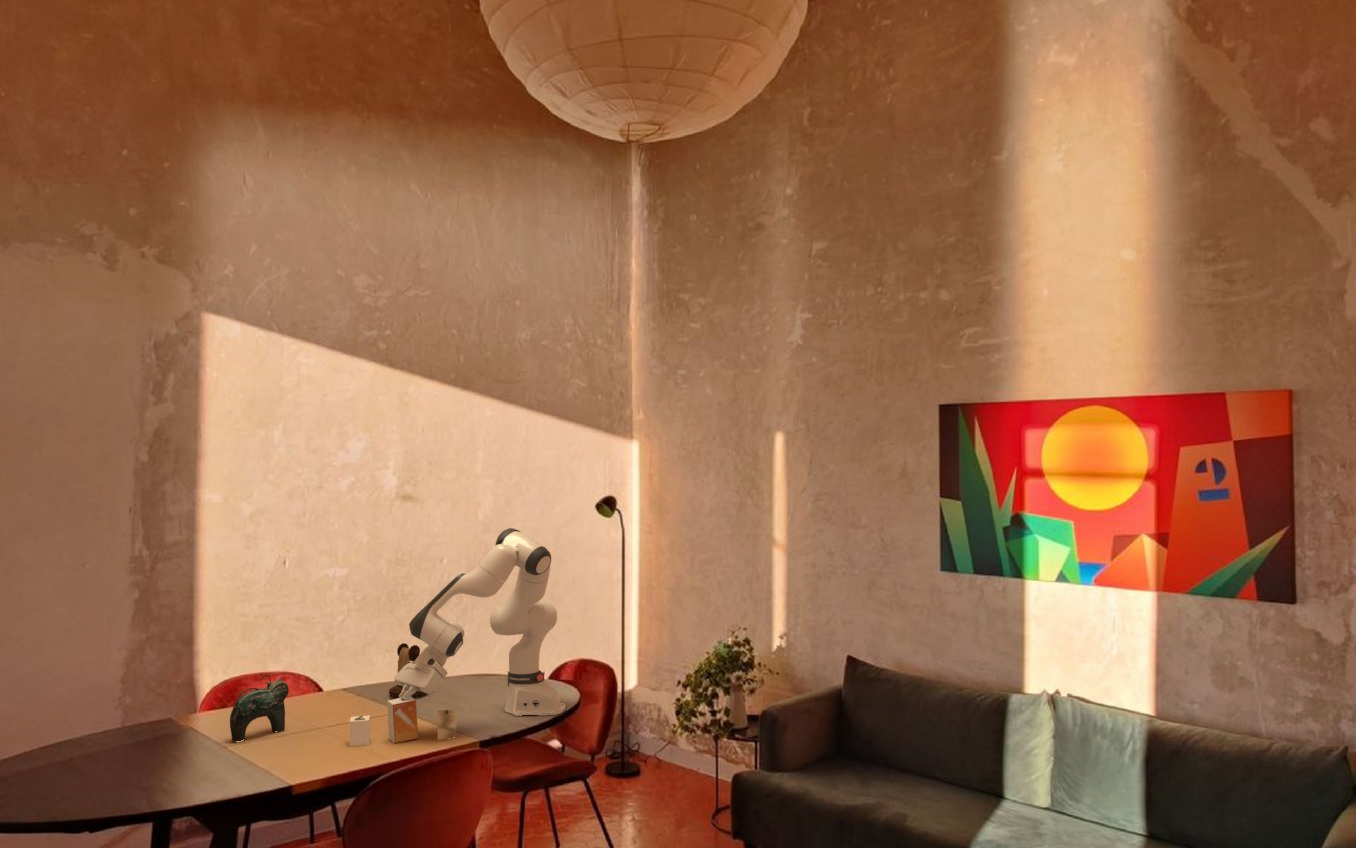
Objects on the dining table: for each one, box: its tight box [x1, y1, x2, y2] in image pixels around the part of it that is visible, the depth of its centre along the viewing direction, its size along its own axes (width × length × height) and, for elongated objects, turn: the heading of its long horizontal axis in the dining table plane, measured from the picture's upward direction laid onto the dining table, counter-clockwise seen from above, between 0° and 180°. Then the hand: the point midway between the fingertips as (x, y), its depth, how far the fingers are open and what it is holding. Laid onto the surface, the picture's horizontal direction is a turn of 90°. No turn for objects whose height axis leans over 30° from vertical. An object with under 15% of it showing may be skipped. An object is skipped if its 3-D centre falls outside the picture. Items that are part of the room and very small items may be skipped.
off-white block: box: [349, 714, 371, 747], centre depth 318 cm, size 6×6×8 cm
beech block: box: [436, 708, 457, 740], centre depth 325 cm, size 6×6×8 cm
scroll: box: [388, 642, 428, 697], centre depth 379 cm, size 15×15×20 cm
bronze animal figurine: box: [229, 674, 289, 741], centre depth 326 cm, size 20×6×20 cm, turn 145°
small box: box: [386, 696, 419, 744], centre depth 321 cm, size 8×6×13 cm
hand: (402, 698), depth 321 cm, fingers closed, pressing on small box
